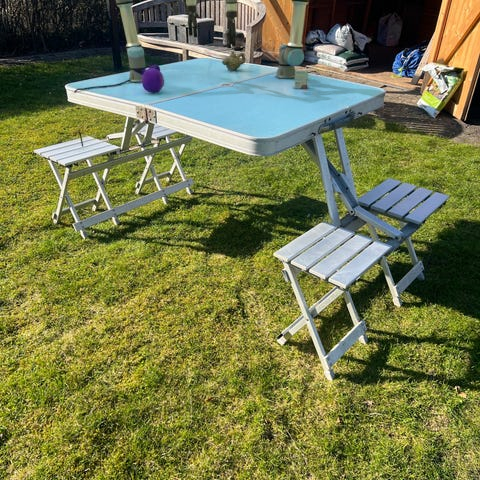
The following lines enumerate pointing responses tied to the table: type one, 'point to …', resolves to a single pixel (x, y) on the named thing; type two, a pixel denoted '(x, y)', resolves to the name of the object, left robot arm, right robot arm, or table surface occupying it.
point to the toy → (152, 79)
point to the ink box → (301, 79)
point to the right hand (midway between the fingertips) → (232, 45)
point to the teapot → (233, 61)
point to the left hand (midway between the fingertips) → (193, 36)
